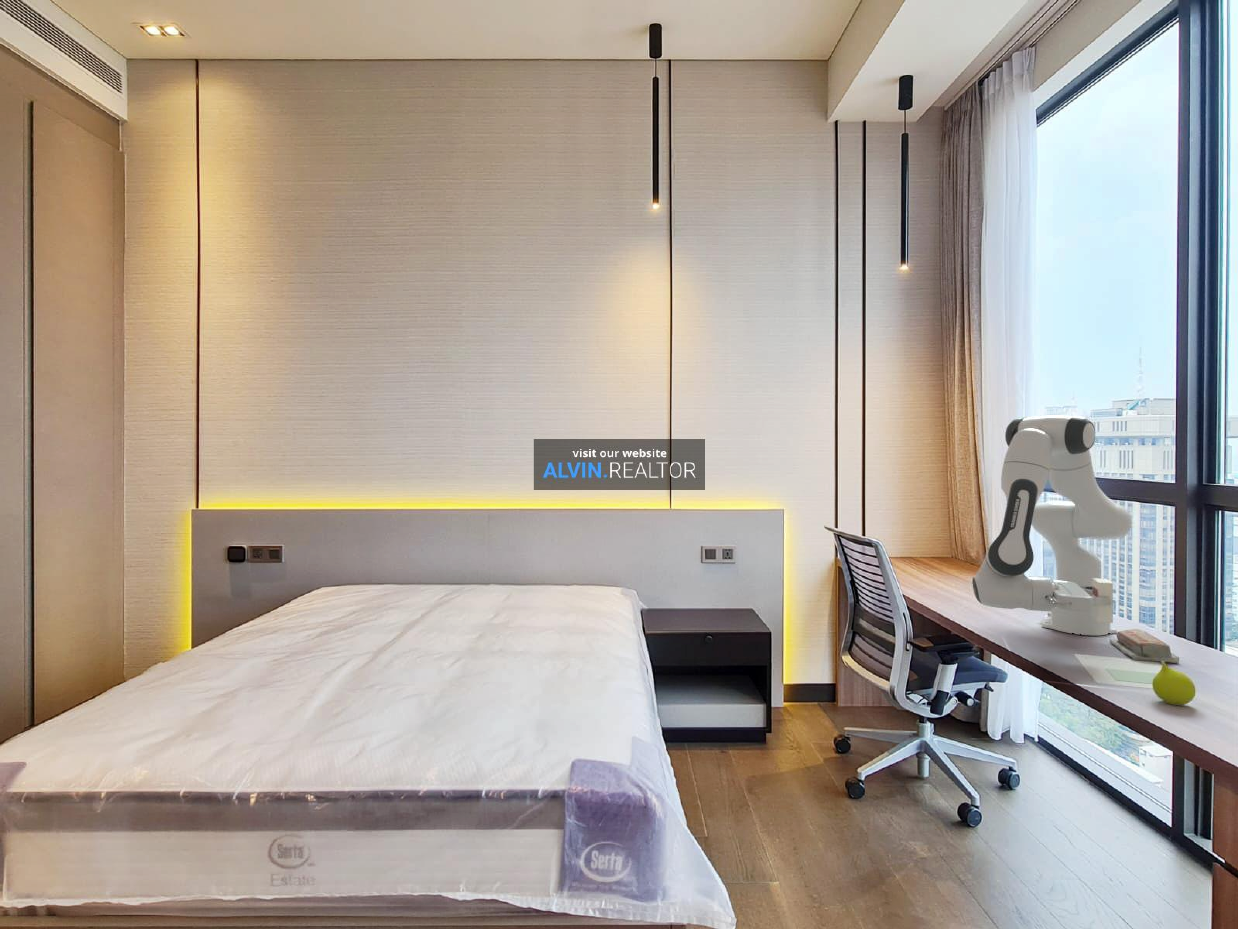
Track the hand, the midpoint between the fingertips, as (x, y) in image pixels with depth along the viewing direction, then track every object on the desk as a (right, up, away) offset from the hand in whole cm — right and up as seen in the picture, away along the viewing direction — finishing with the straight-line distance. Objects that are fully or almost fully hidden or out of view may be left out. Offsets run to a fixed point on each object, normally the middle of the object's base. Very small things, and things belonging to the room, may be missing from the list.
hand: (1106, 598), depth 168 cm
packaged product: (+16, -17, +8) cm, 25 cm away
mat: (0, -17, -7) cm, 18 cm away
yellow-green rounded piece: (-5, -18, -26) cm, 32 cm away
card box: (-1, -6, 0) cm, 6 cm away
